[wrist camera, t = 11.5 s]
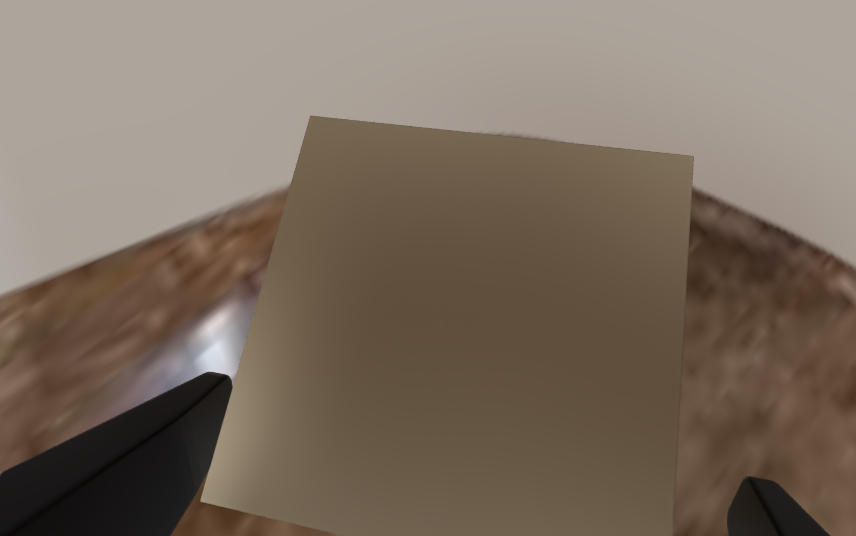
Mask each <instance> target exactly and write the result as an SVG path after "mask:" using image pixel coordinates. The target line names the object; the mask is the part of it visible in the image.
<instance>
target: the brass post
mask: <svg viewBox="0 0 856 536" xmlns="http://www.w3.org/2000/svg"><path fill="white" fill-rule="evenodd" d="M693 161H694V156H688V155H678V154H669V153H659V152H649V151H640V150H631V149H621V148H612V147H602V146H593V145H584V144H574V143H565V142H555V141H546V140H536V139H527V138H517V137H508V136H498V135H489V134H479V133H470V132H460V131H451V130H441V129H432V128H422V127H413V126H402V125H393V124H384V123H375V122H365V121H355V120H346V119H337V118H327V117H318V116H310V119H309V122H308V126H307V130H306V133H305V136H304V140H303V144H302V147H301V150H300V154H299V157H298V161H297V164H296V168H295V171H294V175H293V179H292V182H291V185H290V189H289V192H288V196H287V199H286V203H285V206H284V210H283V213H282V217H281V220H280V224H279V227H278V231H277V234H276V238H275V241H274V245H273V248H272V252H271V255H270V259H269V263H268V266H267V270H266V273H265V277H264V280H263V284H262V287H261V291H260V294H259V298H258V301H257V305H256V308H255V312H254V315H253V319H252V322H251V326H250V329H249V333H248V336H247V340H246V343H245V347H244V350H243V354H242V357H241V361H240V364H239V368H238V371H237V375H236V378H235V382H234V385H233V389H232V392H231V396H230V399H229V403H228V406H227V410H226V413H225V417H224V420H223V424H222V427H221V431H220V434H219V438H218V441H217V445H216V448H215V452H214V455H213V459H212V462H211V466H210V469H209V473H208V476H207V480H206V483H205V487H204V490H203V494H202V497H201V502H205V503H209V504H213V505H217V506H222V507H226V508H230V509H234V510H238V511H242V512H247V513H251V514H255V515H259V516H263V517H267V518H272V519H276V520H280V521H284V522H288V523H293V524H297V525H301V526H305V527H309V528H313V529H318V530H322V531H326V532H330V533H334V534H338V535H343V536H672V533H673V515H674V497H675V479H676V462H677V444H678V426H679V409H680V391H681V373H682V356H683V338H684V320H685V302H686V285H687V267H688V249H689V232H690V214H691V196H692V178H693V177H692V176H693Z"/></svg>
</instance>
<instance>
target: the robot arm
mask: <svg viewBox="0 0 856 536" xmlns="http://www.w3.org/2000/svg"><path fill="white" fill-rule="evenodd" d="M232 389H233V386H232V381H231V378H230V377H229V376H228V375H225V374H220V373H215V372H206V373H204V374H202V375H200V376H198V377H196V378H194V379H192V380H189V381H187V382H185V383H183V384H181V385H179V386H177V387H175V388H173V389H171V390H169V391H167V392H165V393H163V394H161V395H159V396H157V397H155V398H153V399H151V400H149V401H146V402H144V403H142V404H140V405H138V406H136V407H134V408H132V409H130V410H128V411H126V412H124V413H122V414H120V415H118V416H116V417H114V418H112V419H110V420H108V421H106V422H103V423H101V424H99V425H97V426H95V427H93V428H91V429H89V430H87V431H85V432H83V433H81V434H79V435H77V436H75V437H73V438H71V439H69V440H67V441H65V442H63V443H60V444H58V445H56V446H54V447H52V448H50V449H48V450H46V451H44V452H42V453H40V454H38V455H36V456H34V457H32V458H30V459H28V460H26V461H24V462H22V463H19V464H17V465H15V466H13V467H11V468H9V469H7V470H5V471H3V472H2V473H1V474H0V536H170V535H171V534H172V532H173V531H174V529H175V528H176V526H177V524H178V523H179V521H180V520H181V518H182V516H183V515H184V513H185V512H186V510H187V509H188V507H189V505H190V504H191V502H192V500H193V499H194V497H195V495H196V494H197V492H198V490H199V488H200V486H201V484H202V483H203V481H204V479H205V477H206V475H207V473H208V471H209V469H210V466H211V462H212V459H213V455H214V452H215V448H216V445H217V441H218V438H219V434H220V431H221V427H222V424H223V420H224V417H225V413H226V410H227V406H228V403H229V399H230V396H231V392H232ZM727 527H728V534H729V536H830V535H829V534H828V533H827V532H826V531H825V530H824V529H823V528H822V527H821V526H820V525H819V524H818V523H817V522H816V521H815V520H814V519H813V518H812V517H811V516H810V515H809V514H808V513H807V512H806V511H805V510H804V509H803V508H802V507H801V506H800V505H799V504H798V503H797V502H796V501H795V500H794V499H793V498H792V497H791V496H790V495H789V494H788V493H787V492H786V491H785V490H784V489H783V488H782V487H781V486H779V485H778V484H777V483H776V482H774V481H771V480H767V479H762V478H757V477H751V476H749V477H745V478H744V479H743V480H742V482H741V484H740V486H739V488H738V490H737V492H736V494H735V496H734V498H733V500H732V503H731V505H730V507H729V509H728V513H727Z"/></svg>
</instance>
